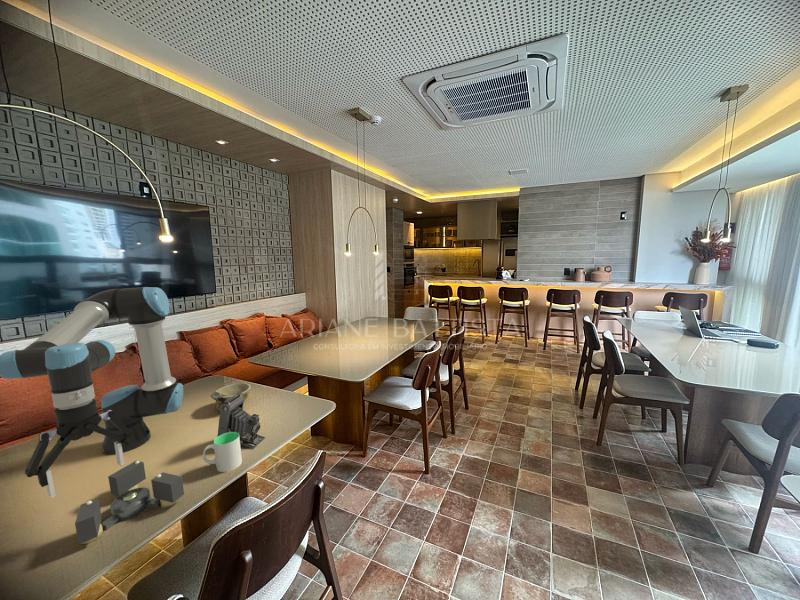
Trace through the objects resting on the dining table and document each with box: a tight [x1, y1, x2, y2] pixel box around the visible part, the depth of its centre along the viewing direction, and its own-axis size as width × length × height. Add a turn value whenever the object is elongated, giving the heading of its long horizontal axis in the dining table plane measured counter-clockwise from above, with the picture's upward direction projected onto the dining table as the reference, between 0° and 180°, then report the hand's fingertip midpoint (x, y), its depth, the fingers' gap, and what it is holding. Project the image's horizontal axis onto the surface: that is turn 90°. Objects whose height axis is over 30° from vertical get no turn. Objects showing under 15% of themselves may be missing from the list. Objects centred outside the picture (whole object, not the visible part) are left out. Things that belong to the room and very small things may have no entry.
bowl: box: [210, 382, 252, 412], centre depth 160 cm, size 18×18×10 cm
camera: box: [216, 392, 266, 449], centre depth 128 cm, size 11×17×20 cm, turn 79°
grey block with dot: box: [107, 460, 147, 497], centre depth 101 cm, size 4×8×9 cm, turn 164°
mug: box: [202, 432, 243, 473], centre depth 113 cm, size 12×8×10 cm, turn 113°
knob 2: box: [150, 471, 185, 508], centre depth 96 cm, size 4×8×9 cm, turn 74°
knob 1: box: [74, 498, 104, 545], centre depth 85 cm, size 4×8×9 cm, turn 38°
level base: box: [100, 487, 161, 531], centre depth 93 cm, size 14×12×5 cm
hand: (88, 478), depth 84 cm, fingers open, 13 cm apart
